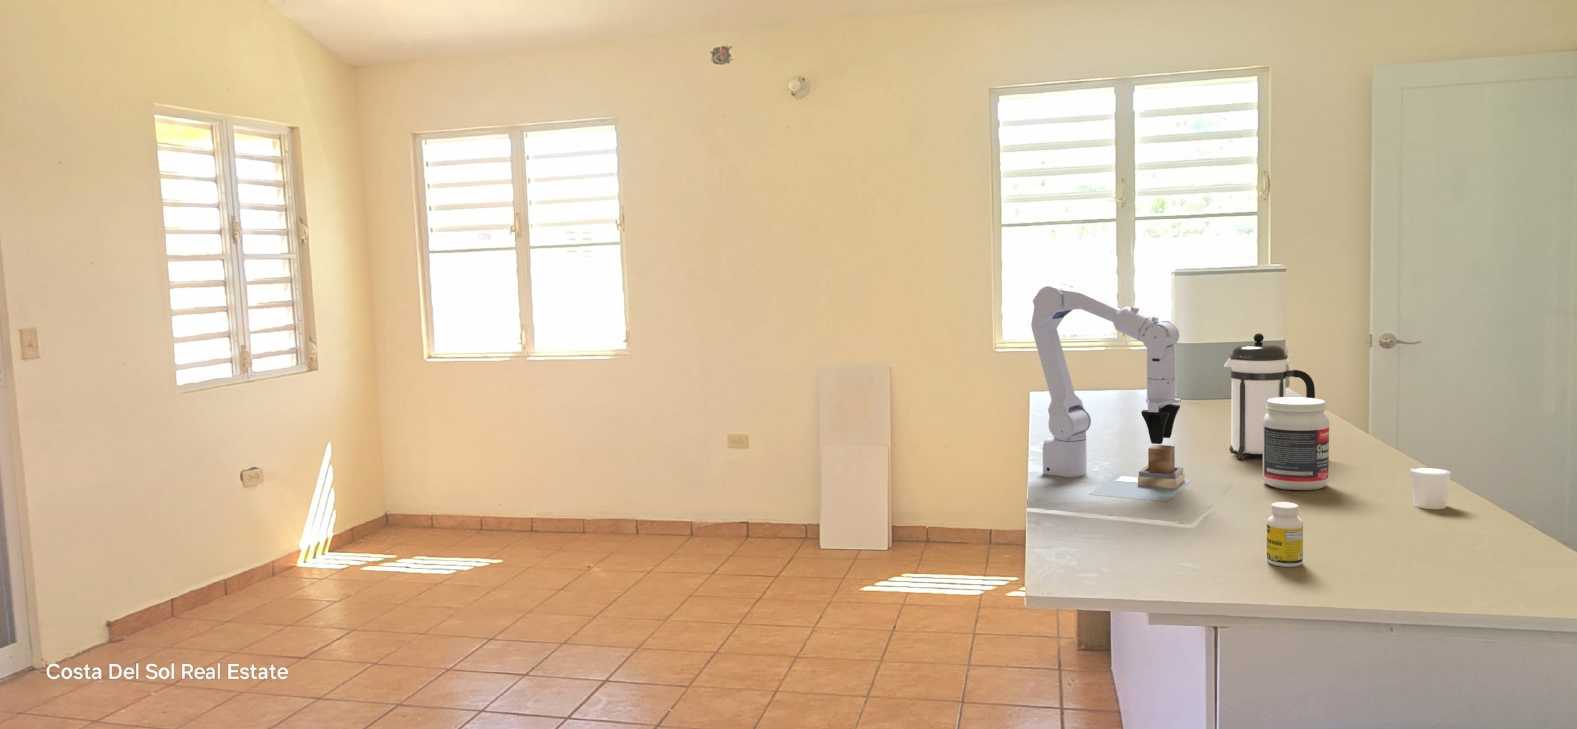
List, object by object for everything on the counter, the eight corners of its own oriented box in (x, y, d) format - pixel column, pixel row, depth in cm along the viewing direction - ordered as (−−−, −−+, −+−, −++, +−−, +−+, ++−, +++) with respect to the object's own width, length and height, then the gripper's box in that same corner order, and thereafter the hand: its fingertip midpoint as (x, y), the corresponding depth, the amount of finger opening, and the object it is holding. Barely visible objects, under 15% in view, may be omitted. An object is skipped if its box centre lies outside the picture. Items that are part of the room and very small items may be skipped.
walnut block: (1148, 475, 232) (1148, 448, 232) (1153, 471, 236) (1153, 444, 235) (1169, 477, 230) (1169, 449, 229) (1174, 473, 234) (1174, 445, 233)
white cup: (1445, 502, 211) (1446, 467, 210) (1454, 510, 205) (1455, 474, 204) (1405, 500, 213) (1406, 466, 213) (1413, 509, 207) (1414, 473, 206)
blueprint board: (1088, 498, 226) (1088, 480, 225) (1117, 477, 244) (1117, 461, 244) (1167, 505, 217) (1167, 486, 217) (1191, 483, 236) (1191, 466, 235)
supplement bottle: (1260, 559, 179) (1260, 501, 178) (1291, 557, 179) (1291, 499, 178) (1277, 568, 174) (1278, 509, 172) (1309, 566, 174) (1310, 507, 173)
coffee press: (1266, 465, 251) (1267, 337, 248) (1211, 455, 265) (1211, 334, 262) (1316, 456, 259) (1317, 332, 256) (1259, 446, 273) (1260, 329, 270)
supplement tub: (1336, 492, 222) (1337, 404, 220) (1270, 492, 225) (1270, 405, 223) (1318, 479, 235) (1320, 396, 233) (1256, 478, 238) (1256, 396, 236)
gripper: (1172, 383, 223) (1172, 447, 224) (1187, 374, 235) (1187, 436, 236) (1137, 381, 226) (1137, 445, 228) (1154, 373, 238) (1154, 434, 240)
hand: (1161, 440), depth 232 cm, fingers open, 7 cm apart
